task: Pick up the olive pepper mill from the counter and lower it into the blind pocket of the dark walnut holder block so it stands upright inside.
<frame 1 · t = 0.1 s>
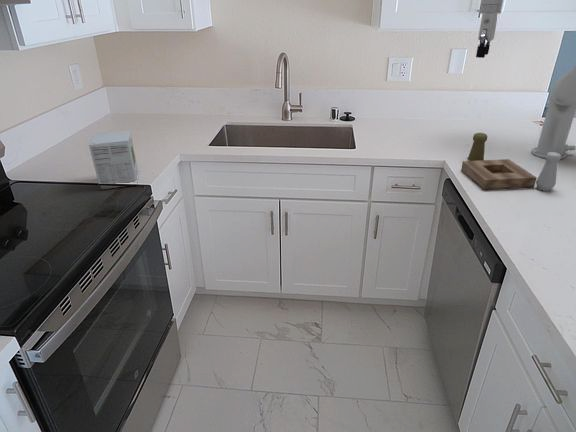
hand: (481, 55, 170), 37 cm above the worktop, tool pointing down, fingers open, 9 cm apart
olive pepper mill: (475, 160, 170), on the worktop
walnut holder: (495, 179, 152), on the worktop
salt shaker: (543, 189, 144), on the worktop
supplement box: (120, 182, 158), on the worktop
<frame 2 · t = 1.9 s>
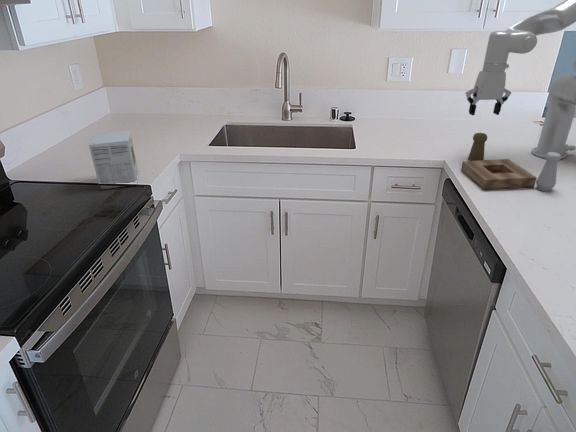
hand: (483, 114, 161), 19 cm above the worktop, tool pointing down, fingers open, 9 cm apart
nothing on the worktop moved.
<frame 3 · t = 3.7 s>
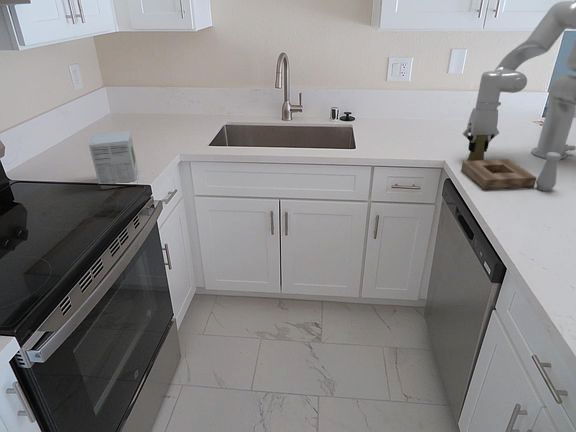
hand: (477, 150, 168), 4 cm above the worktop, tool pointing down, fingers closed on olive pepper mill, 4 cm apart
olive pepper mill: (475, 160, 170), on the worktop, touching gripper
everything else where it was.
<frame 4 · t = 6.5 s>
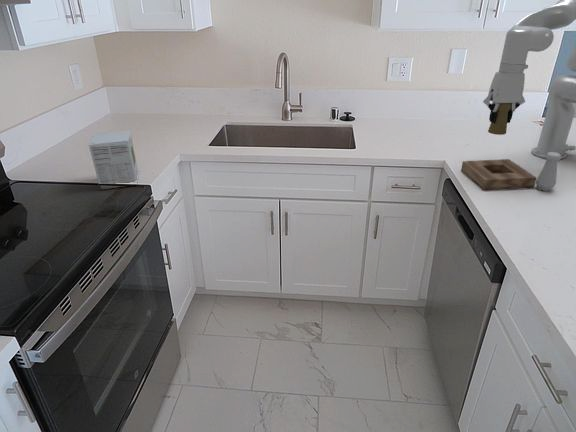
hand: (499, 121, 149), 20 cm above the worktop, tool pointing down, fingers closed on olive pepper mill, 4 cm apart
olive pepper mill: (496, 132, 151), point 15 cm above the worktop, touching gripper
everything else where it was.
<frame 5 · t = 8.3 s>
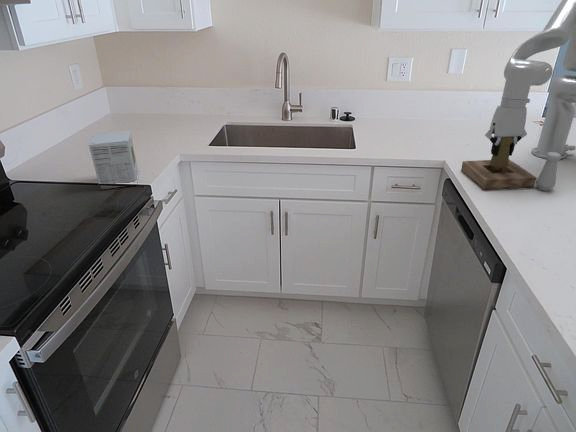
hand: (501, 154, 148), 10 cm above the worktop, tool pointing down, fingers closed on olive pepper mill, 4 cm apart
olive pepper mill: (498, 165, 150), point 6 cm above the worktop, touching gripper
everything else where it was.
when the fingers open (6 cm above the worktop, at t = 9.4 s): olive pepper mill stays where it is, resting on walnut holder.
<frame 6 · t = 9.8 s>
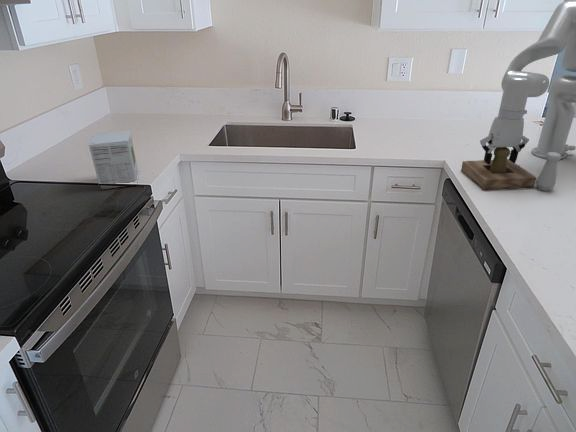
hand: (499, 162, 149), 7 cm above the worktop, tool pointing down, fingers open, 8 cm apart
olive pepper mill: (496, 177, 152), point 1 cm above the worktop, touching walnut holder
everything else where it was.
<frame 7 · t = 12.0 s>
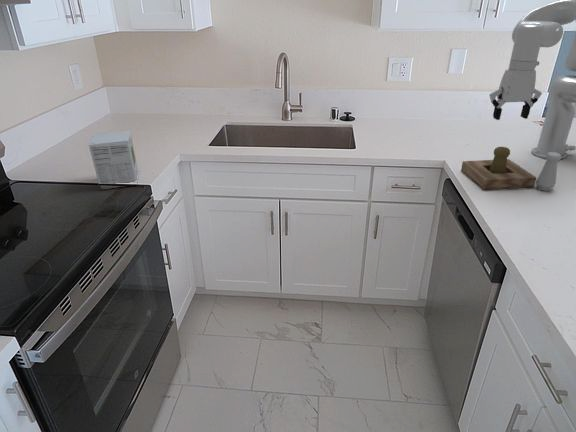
hand: (510, 118, 142), 22 cm above the worktop, tool pointing down, fingers open, 9 cm apart
nothing on the worktop moved.
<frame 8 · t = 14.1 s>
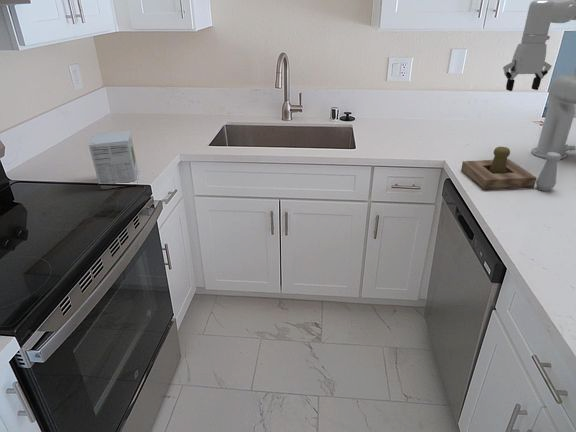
hand: (521, 89, 154), 28 cm above the worktop, tool pointing down, fingers open, 9 cm apart
nothing on the worktop moved.
at the end: olive pepper mill 0.1 cm off-centre on the walnut holder, point 0.8 cm above the walnut holder's base; olive pepper mill tilted 0°; the gripper is holding nothing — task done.
